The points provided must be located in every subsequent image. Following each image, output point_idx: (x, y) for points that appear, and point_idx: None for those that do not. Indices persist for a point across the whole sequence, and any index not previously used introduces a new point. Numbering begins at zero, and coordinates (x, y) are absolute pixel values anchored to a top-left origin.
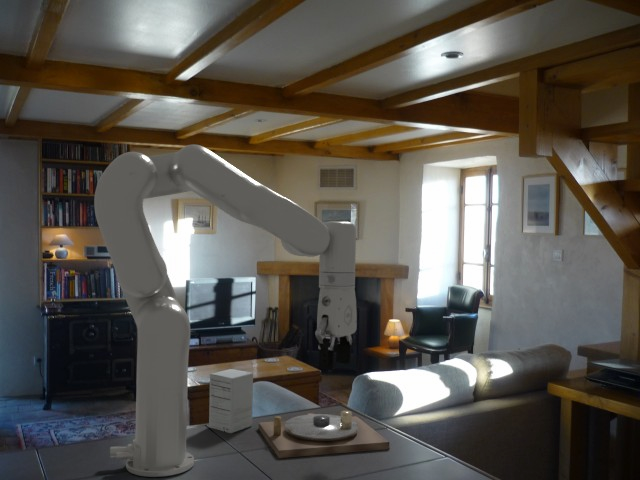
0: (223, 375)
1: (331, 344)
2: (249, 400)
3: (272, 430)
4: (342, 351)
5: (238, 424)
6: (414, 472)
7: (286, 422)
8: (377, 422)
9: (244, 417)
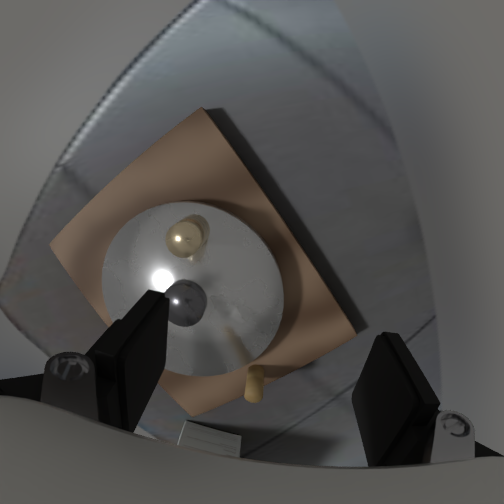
0: None
1: (467, 442)
2: None
3: (230, 386)
4: (142, 375)
5: (224, 439)
6: (340, 35)
7: (212, 374)
8: (39, 196)
9: (205, 442)
